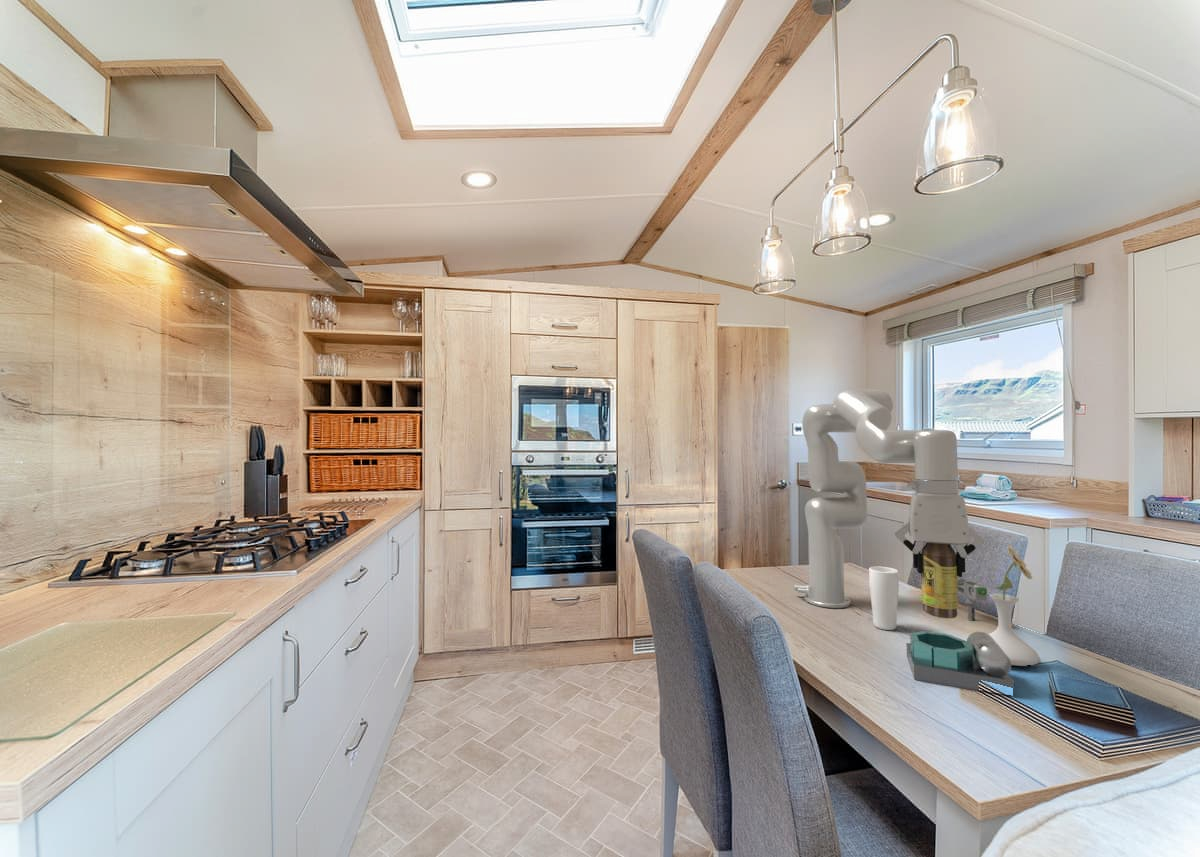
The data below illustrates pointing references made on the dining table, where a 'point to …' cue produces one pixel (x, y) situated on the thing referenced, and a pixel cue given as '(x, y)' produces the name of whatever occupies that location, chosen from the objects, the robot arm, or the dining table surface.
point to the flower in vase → (1004, 634)
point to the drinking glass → (884, 596)
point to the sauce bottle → (939, 580)
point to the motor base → (954, 675)
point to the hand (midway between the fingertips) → (938, 572)
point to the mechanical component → (971, 594)
